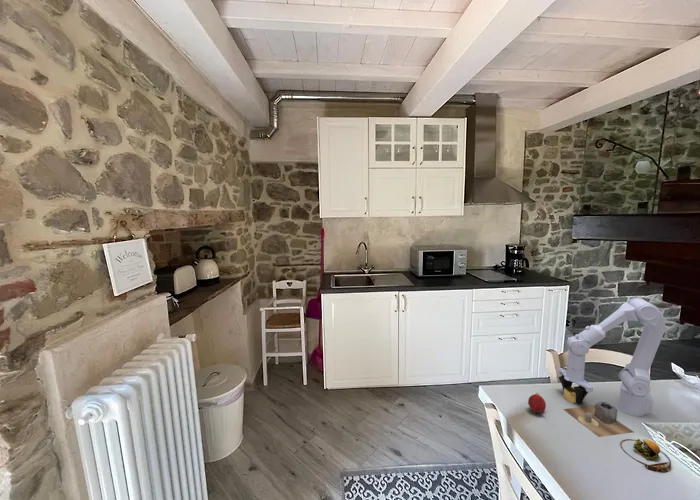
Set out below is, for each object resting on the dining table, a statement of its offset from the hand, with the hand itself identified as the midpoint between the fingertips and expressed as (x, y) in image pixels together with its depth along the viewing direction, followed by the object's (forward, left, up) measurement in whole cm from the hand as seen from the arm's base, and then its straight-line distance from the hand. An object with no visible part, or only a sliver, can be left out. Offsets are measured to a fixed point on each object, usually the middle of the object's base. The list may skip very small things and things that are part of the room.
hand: (572, 398), depth 127 cm
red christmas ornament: (+19, +4, -2) cm, 19 cm away
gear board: (+2, +13, -1) cm, 13 cm away
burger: (+1, +29, -2) cm, 29 cm away
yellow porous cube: (0, 0, -1) cm, 1 cm away
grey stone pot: (-2, +13, 0) cm, 13 cm away
